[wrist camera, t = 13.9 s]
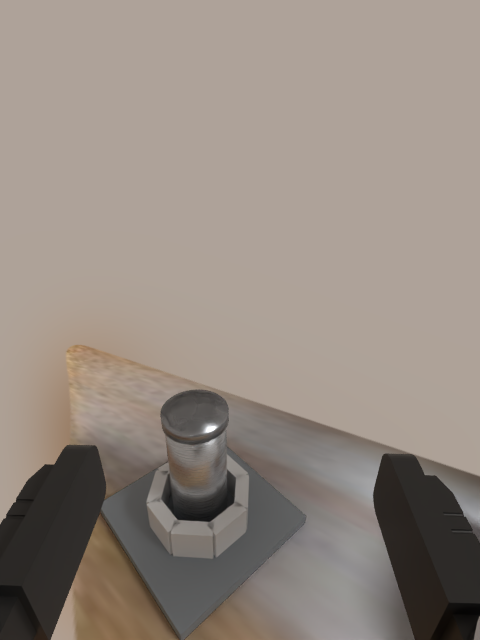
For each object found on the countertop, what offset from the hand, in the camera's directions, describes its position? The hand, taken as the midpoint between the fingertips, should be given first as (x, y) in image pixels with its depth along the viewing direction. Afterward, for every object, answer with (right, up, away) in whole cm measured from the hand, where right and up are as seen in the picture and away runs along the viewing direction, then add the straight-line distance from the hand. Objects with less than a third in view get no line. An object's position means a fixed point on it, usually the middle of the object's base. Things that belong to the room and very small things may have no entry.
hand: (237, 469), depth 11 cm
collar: (-4, -15, +25) cm, 29 cm away
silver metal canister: (-4, -14, +25) cm, 29 cm away
